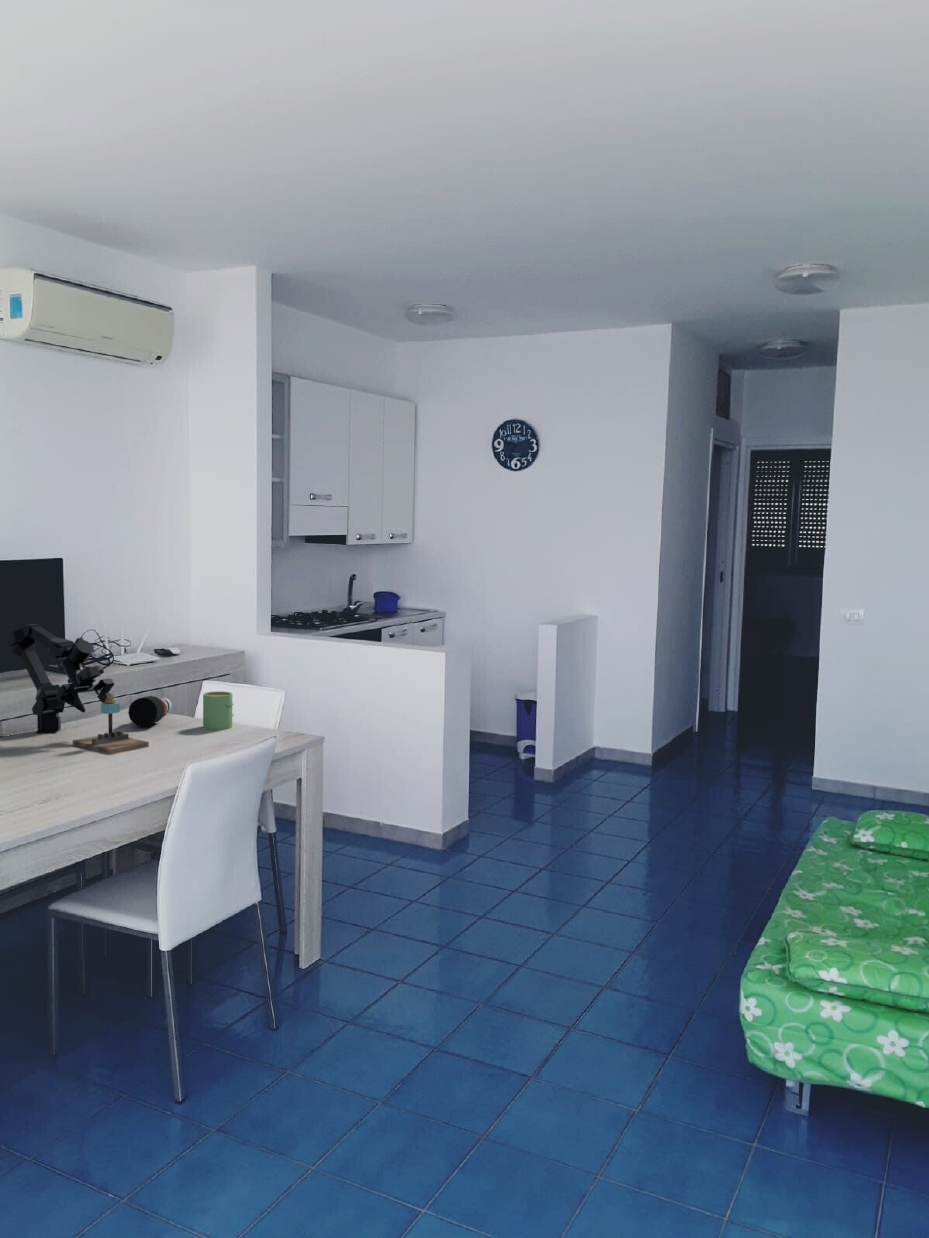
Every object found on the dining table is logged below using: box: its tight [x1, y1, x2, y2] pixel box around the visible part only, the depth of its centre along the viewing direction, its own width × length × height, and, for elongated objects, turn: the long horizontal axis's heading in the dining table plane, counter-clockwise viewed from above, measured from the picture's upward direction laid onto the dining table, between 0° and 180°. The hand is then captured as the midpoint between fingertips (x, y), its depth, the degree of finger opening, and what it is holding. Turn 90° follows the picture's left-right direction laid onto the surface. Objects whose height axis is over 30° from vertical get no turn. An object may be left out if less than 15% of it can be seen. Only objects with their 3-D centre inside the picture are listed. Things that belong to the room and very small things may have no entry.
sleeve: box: [100, 701, 121, 715], centre depth 320 cm, size 4×4×3 cm
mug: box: [202, 690, 234, 731], centre depth 354 cm, size 13×10×12 cm
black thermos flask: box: [127, 695, 172, 727], centre depth 364 cm, size 10×34×10 cm, turn 2°
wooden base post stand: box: [72, 692, 150, 755], centre depth 320 cm, size 20×14×17 cm
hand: (96, 709), depth 324 cm, fingers open, 9 cm apart
